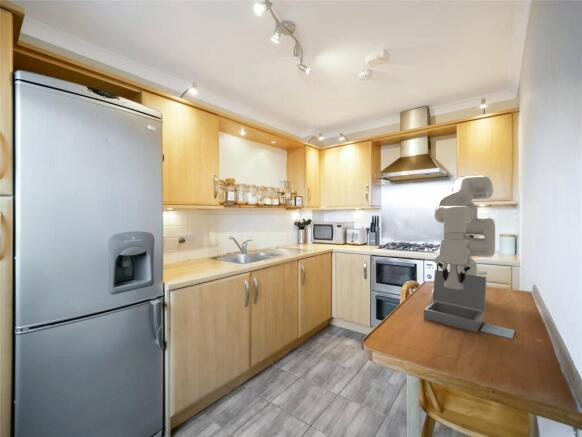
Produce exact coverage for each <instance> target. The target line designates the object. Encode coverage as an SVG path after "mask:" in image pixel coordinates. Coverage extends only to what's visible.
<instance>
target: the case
mask: <svg viewBox="0 0 582 437" xmlns="http://www.w3.org/2000/svg"><path fill="white" fill-rule="evenodd" d="M483 317H484V312H483V310H480V309H475V308H470V307H466V306H461V305H456V304H451V303H446V302H442V301H437V300H434V301H432V302H431V304H430V305H429V306H428V305H427V306H426V307H425V308H423V320H426V321H430V322H434V323H438V324H442V325H445V326H450V327H453V328H458V329H462V330H466V331H470V332H473V333H477V332H478V330H479V329H480V328H481V325H482V324H483V322H484V321H483V320H484V318H483Z"/></svg>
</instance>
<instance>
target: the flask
mask: <svg viewBox="0 0 582 437" xmlns="http://www.w3.org/2000/svg"><path fill="white" fill-rule="evenodd" d="M448 272H449V274H448V276H447V280H446V281H445V283H444V287H446V288H450V289H458V290H461V289H464V287H463V285H462V283H460V277H459V274H458V265H454V264H449V270H448Z"/></svg>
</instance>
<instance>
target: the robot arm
mask: <svg viewBox="0 0 582 437" xmlns="http://www.w3.org/2000/svg"><path fill="white" fill-rule="evenodd" d="M493 193H494V188H493V183H492V180H491V179H490V178H489V177H488V176H486V175H476V176H475V175H474V176H464V177H460V178H458V179H457V180H455V183H454V185H453V187H452V190H451V193H449V194H448V195H445V196H444V197H442V198H441V199H440V200H439V201H438V202H437V205H436V207H435V210H434V218H435V221H436V222H437V223H440V224H443V238H442V239H441V241H440V245H439V255H438V256H437V257H435V259H434V260H433V262H434V263H435V264H436V265H438V267H439V268H440V269H441V271H443V278H444V280H447V276H448V272H449V270H448V266H449V265H450V264H454V265H458V273H460V283H462V282H463V281H465V274H468V275H475V276H478V265H477V262H476V261H475V260H474V258H473V257H479V258H491V257H494V255H495V253H496V251H495V250H496V223H495V220H494V219H493V218H492V217H488V216H482V217H479V216H478V211H479V210H478V206H476V204H475V203H474V202H473V200H488V199H490V198H491V197H492V195H493ZM470 236H478V237H470ZM479 236H482V237H479Z"/></svg>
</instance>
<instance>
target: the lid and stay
mask: <svg viewBox="0 0 582 437" xmlns="http://www.w3.org/2000/svg"><path fill="white" fill-rule="evenodd" d="M448 274H449V271H448ZM458 274H459V277H460V273H458ZM433 280H434V281H433V288H432V291H431V293H430V294H431V295H430V299H429V302H428V303H427V306H429V305H430V304H431V303H432V302H434V300H437V301H442V302H446V303H451V304H456V305H461V306H466V307H470V308H475V309H480V310H483V313H485V312H486V310H485V309H486V292H487V291H486V290H487V276H481V275H477V276H475V275H468V274H465V281H463V282H462V285H463V287H464V289H461V290H458V289H450V288H446V287H444V283H445V281H446V280H444V278H443V270H437V269H435V270H434V278H433Z"/></svg>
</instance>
